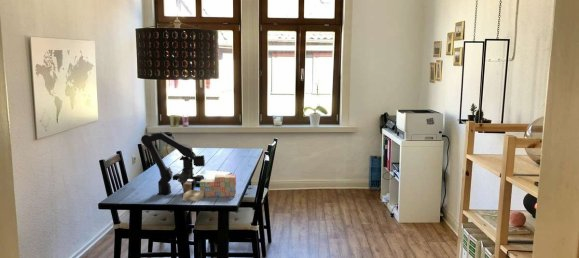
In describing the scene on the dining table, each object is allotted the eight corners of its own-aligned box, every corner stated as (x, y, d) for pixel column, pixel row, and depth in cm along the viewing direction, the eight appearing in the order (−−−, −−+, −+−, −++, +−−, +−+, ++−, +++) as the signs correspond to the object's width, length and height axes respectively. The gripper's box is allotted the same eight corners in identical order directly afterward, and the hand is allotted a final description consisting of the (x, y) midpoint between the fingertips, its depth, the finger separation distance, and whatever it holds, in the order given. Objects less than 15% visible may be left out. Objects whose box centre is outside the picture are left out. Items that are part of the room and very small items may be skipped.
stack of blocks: (199, 196, 275) (199, 177, 273) (201, 193, 281) (201, 174, 279) (235, 196, 275) (234, 177, 273) (236, 193, 281) (235, 174, 279)
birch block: (183, 200, 268) (183, 194, 267) (190, 196, 276) (189, 189, 276) (197, 201, 266) (197, 195, 265) (203, 197, 274) (203, 190, 274)
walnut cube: (183, 193, 280) (183, 184, 280) (186, 191, 285) (186, 181, 284) (190, 194, 279) (190, 184, 278) (194, 191, 284) (193, 182, 283)
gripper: (167, 168, 274) (168, 193, 277) (196, 170, 270) (197, 195, 272) (176, 164, 285) (177, 188, 287) (204, 166, 281) (204, 190, 283)
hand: (188, 191), depth 282 cm, fingers closed on walnut cube, 5 cm apart
